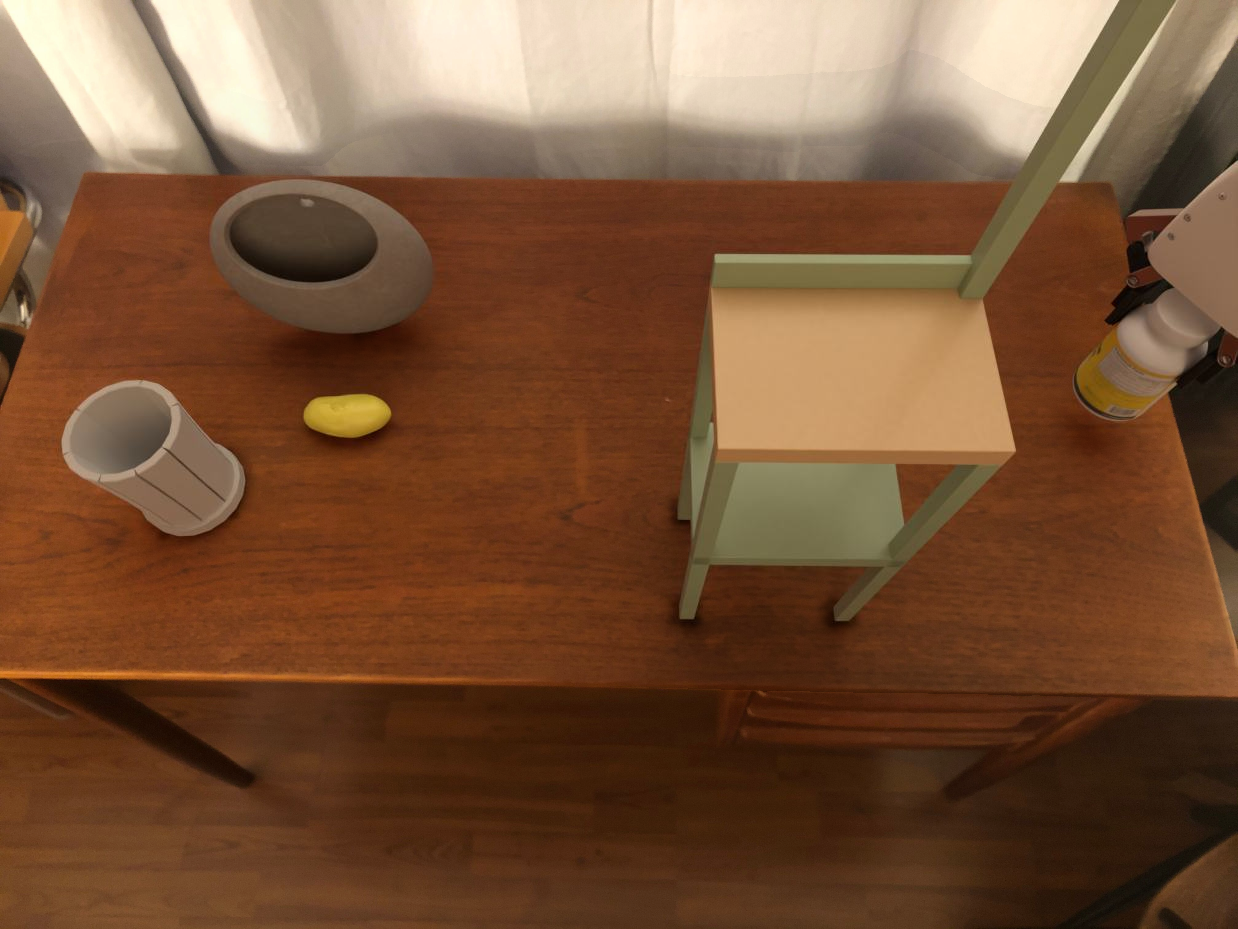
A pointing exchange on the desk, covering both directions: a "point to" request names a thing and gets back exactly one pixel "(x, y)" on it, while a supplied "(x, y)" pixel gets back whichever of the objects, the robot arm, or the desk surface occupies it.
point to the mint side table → (866, 376)
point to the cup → (153, 457)
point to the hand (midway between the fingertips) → (1154, 345)
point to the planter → (321, 256)
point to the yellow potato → (347, 415)
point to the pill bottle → (1143, 357)
